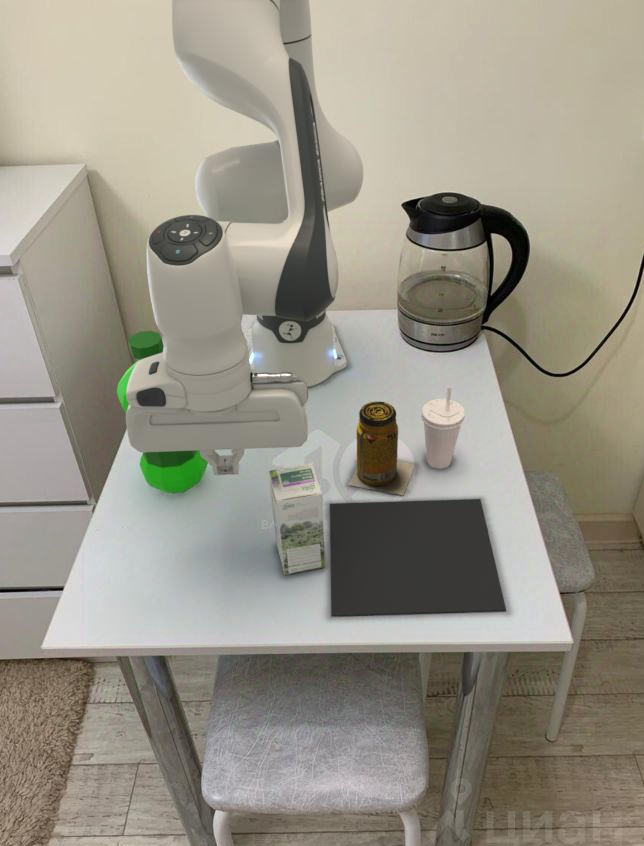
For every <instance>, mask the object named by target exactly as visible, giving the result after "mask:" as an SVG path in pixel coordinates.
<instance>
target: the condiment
mask: <svg viewBox="0 0 644 846" xmlns="http://www.w3.org/2000/svg"><path fill="white" fill-rule="evenodd" d="M358 416H359V418H358V423H357V426H356V468H355V470H354V472H353V474H352V477H351V478H350V480H349V482H348V485H349V486H353V487H357V488H363V489H367V490H371V491H377V492H383V493H388V494H394V495H399V496H404V494H405V493H406V489H407V488H408V484H409V482H410V479H411V477H412V474H413V471H414V468H415V466H416V465H415V464H413V463H410V462H404V461H398V443H399V425H398V423H397V418H396V417H397V411H396V408H395V407H394V406H393V405H391V404H390V403H388V402H385V401H377V400H376V401H370V402H367V403H365V404H363V406H361V408H360V410H359V413H358Z"/></svg>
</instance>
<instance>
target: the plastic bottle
mask: <svg viewBox="0 0 644 846" xmlns="http://www.w3.org/2000/svg"><path fill="white" fill-rule="evenodd" d="M127 344H128V347H129V353H130V354H131V356H132V358H133V359H136V362H134V363H133V364H132V365H131V366H130V367H128V369H127V370H125V372H124V374H123V376H122V377H121V379H120V380H119V381H118V383H117V388H116V395H117V399H118V401H119V403H120V405H121V407H122V410H123V411H124V413H125V414H126V412H127V409H128V406H129V403H128V401H127V398H126V391H127V385H128V381H129V378H130V376H131V373H132V371H133V369H134V367H135V365H136V364H137V362H138V361H139V360H141V359H144V358H147V357H150V356H153V355H156V354H159V353H162V352H163V346H164V341H163V336H162V335H161V334H160V332H157V331H153V330H143V331H139V332H136V333H134V334H132V335H130V337H129V339H128V340H127ZM208 464H209V463H208V462H207V461H206V460H205V459H204V458H203V457H201V456H200V451H199V450H195V451H166V452H142V455H141V456H140V460H139V466H140V470H141V473H142V475H143V476H144V479H145V481H146V483H147V484H148V485H149V486H150V487H151V488H154V489H157V490H160V491H162V492H165V493H166V494H172V495H173V494H174V495H175V494H182V493H185V492H187V491H189V490H190V489H192V488H193V487H194V486H196V485H197V484H198V483H200V482H202V479H203V476H204V474H205V472H206V469H207V467H208Z"/></svg>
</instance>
